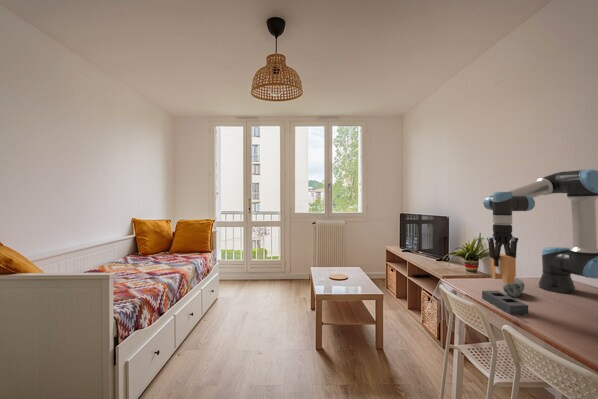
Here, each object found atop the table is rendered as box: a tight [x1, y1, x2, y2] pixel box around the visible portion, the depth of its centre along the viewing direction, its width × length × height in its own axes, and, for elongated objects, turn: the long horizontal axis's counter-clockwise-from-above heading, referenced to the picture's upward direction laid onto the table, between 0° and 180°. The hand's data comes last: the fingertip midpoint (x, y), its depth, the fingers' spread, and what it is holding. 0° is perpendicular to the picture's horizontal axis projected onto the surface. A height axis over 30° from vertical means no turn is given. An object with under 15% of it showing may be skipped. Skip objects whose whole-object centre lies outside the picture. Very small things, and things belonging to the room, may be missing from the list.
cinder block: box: [481, 290, 529, 316], centre depth 135 cm, size 8×20×4 cm, turn 178°
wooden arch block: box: [490, 253, 517, 284], centre depth 135 cm, size 4×12×12 cm, turn 178°
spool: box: [502, 277, 525, 298], centre depth 151 cm, size 14×10×10 cm
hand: (502, 273), depth 135 cm, fingers closed on wooden arch block, 3 cm apart
